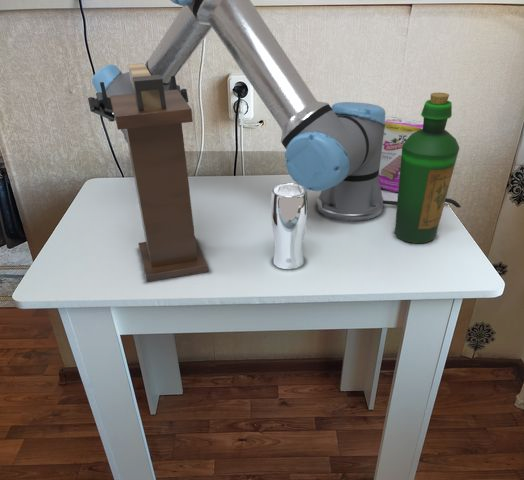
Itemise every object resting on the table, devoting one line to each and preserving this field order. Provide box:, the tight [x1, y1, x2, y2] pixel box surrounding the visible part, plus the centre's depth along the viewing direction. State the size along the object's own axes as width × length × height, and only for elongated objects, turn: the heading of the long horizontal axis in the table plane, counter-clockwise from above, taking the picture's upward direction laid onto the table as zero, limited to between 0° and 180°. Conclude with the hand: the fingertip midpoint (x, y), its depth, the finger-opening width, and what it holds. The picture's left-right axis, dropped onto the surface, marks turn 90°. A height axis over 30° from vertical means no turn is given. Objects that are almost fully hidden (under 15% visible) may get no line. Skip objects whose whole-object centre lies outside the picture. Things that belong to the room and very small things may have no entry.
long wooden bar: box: [127, 62, 166, 111], centre depth 89 cm, size 22×4×4 cm, turn 16°
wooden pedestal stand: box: [110, 90, 209, 283], centre depth 96 cm, size 14×12×30 cm
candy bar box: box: [378, 115, 423, 194], centre depth 126 cm, size 11×5×16 cm, turn 58°
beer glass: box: [270, 182, 309, 270], centre depth 99 cm, size 7×7×15 cm
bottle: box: [394, 91, 460, 244], centre depth 103 cm, size 11×11×28 cm
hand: (139, 86), depth 99 cm, fingers open, 13 cm apart
